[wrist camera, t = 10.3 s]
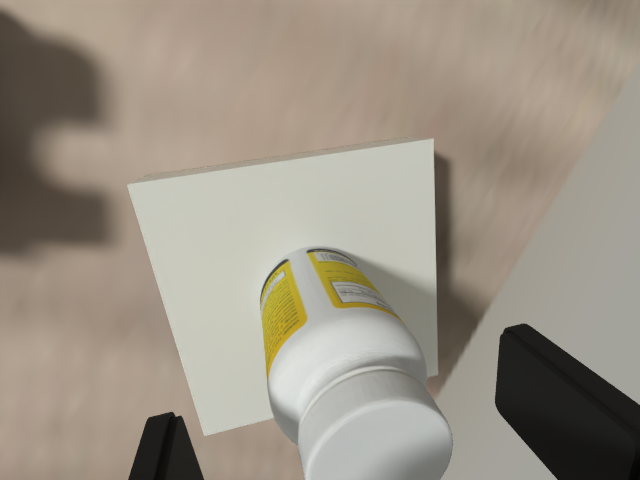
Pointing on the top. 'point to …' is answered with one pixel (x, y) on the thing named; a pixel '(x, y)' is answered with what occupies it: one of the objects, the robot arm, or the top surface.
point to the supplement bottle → (347, 374)
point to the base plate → (283, 253)
